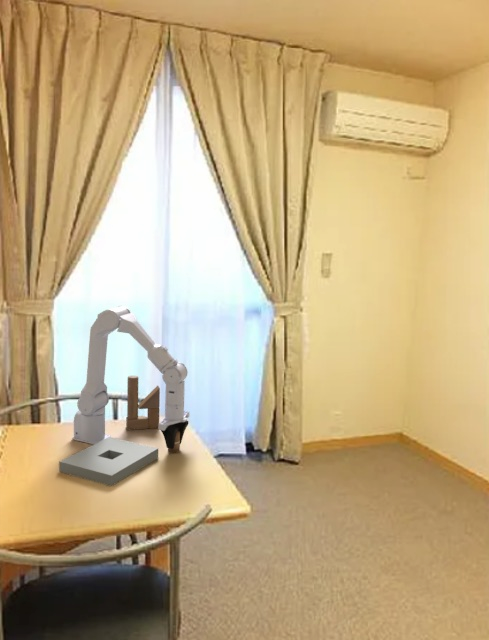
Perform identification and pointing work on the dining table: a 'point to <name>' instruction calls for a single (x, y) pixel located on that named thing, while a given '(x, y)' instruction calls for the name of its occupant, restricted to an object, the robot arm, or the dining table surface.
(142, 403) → the wooden block
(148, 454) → the board
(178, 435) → the peg
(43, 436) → the dining table surface
